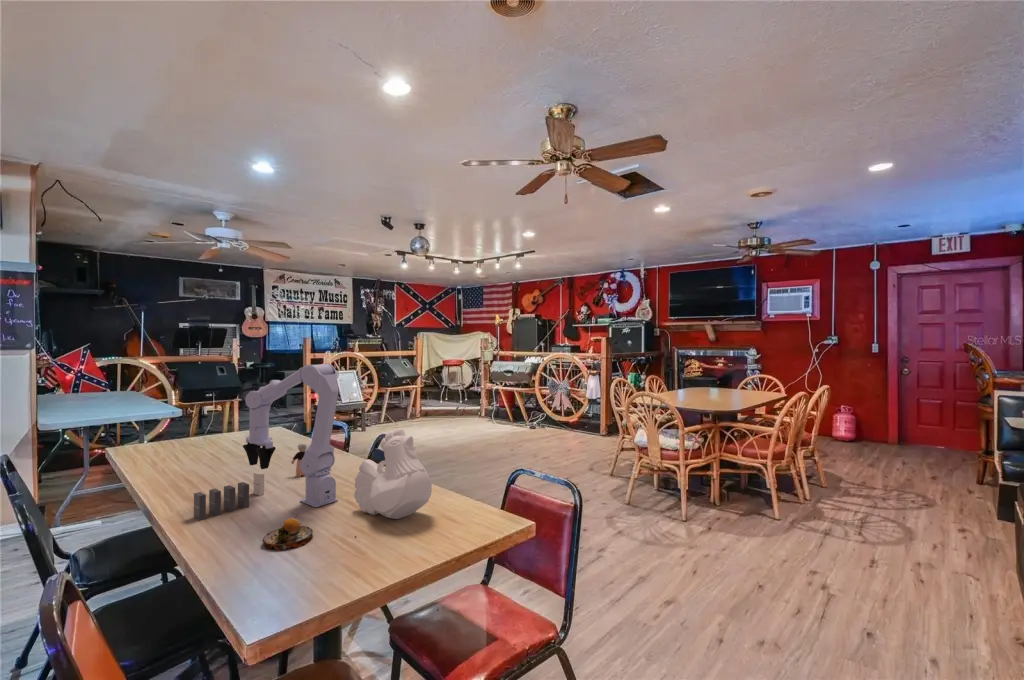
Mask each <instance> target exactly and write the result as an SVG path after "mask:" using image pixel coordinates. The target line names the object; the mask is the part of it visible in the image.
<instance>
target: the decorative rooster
mask: <svg viewBox="0 0 1024 680" xmlns="http://www.w3.org/2000/svg"><path fill="white" fill-rule="evenodd" d="M379 445H380V448H381V449H382V450H383V455H384V460H381V461H379V463H378V464H377V463H376V462H375V461H374V460H371V459H364V460H363V461H362V462H361V464H360V465H359V467H358V470H359V472H358V473H357V474H356V475H355V479H354V488H355V490H354V495H353V496H354V498H355V501H356V503H357V504H358V506H359V508H360V510H361V511H362V512H363V513H368V514H369V515H372V516H376V515H378V514H380V515H382V516H384V517H386V518H388V519H395V520H399V519H403V518H406V517H408V516H411V515H413V514H414V513H416V512H417V511H418V510H420V509H421V508H422V507H424V506H425V505H426V504H427V503H428V502H429V499H430V498H431V496H432V491H433V490H432V489H433V488H432V485H433V484H432V480H431V477H430V475H429V474H428V471H427V470H426V468H425V467H424V466H423V464H422V463H421V462H420V460H419V459H418V455H417V452H416V447H415V446H414V438H413V436H412V435H407V436H406V433H405V430H403V428H401V427H399V428H396V429H395V430H390V431H389V432H387V433H386V434H385V436H384V438H382V439H381V441H380V444H379ZM384 466H385V468H384V470H383V467H384Z"/></svg>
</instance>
